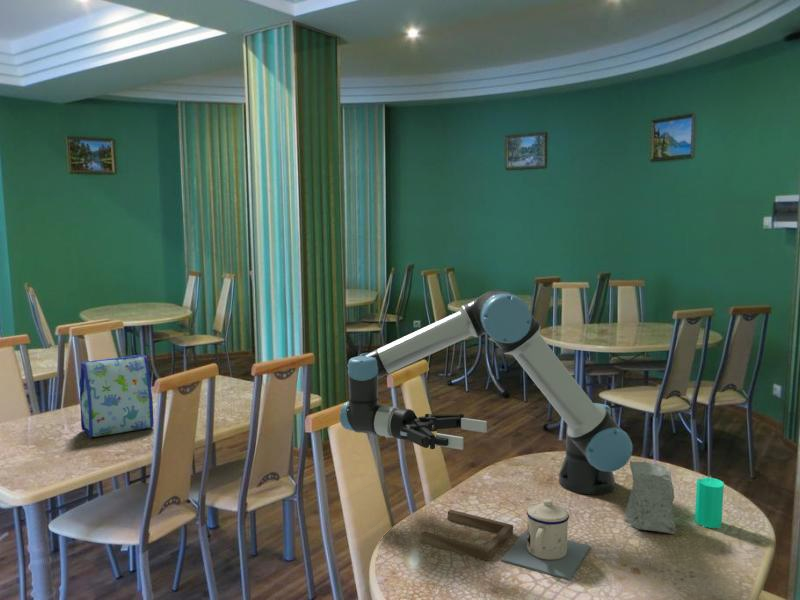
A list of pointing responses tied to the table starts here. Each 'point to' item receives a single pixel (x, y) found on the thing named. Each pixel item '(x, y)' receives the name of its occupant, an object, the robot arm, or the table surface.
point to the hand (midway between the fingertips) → (475, 434)
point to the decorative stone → (651, 498)
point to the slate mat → (557, 567)
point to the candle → (709, 502)
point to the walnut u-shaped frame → (467, 548)
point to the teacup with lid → (547, 530)
